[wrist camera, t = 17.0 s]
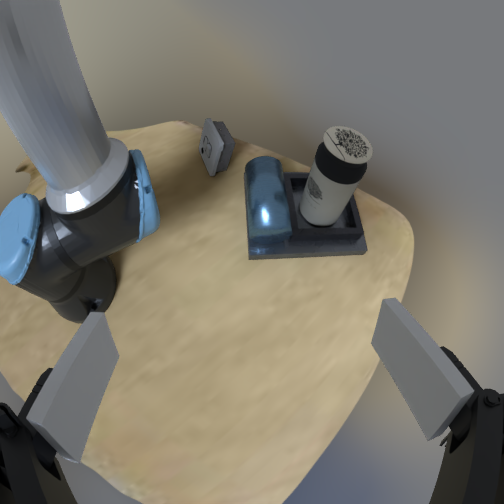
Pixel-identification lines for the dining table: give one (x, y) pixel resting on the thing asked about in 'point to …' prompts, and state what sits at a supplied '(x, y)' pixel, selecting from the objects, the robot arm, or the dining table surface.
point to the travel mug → (334, 175)
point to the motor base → (292, 217)
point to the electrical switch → (216, 146)
